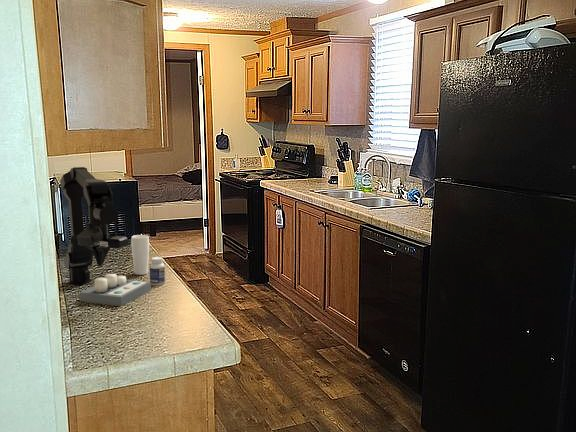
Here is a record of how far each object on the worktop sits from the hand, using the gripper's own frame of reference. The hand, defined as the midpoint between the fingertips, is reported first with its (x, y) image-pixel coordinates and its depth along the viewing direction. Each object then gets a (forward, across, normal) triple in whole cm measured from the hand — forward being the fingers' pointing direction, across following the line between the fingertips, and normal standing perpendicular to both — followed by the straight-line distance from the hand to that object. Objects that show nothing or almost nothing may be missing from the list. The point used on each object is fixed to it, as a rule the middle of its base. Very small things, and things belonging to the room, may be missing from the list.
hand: (100, 265), depth 180 cm
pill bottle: (+12, +8, +22) cm, 27 cm away
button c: (+11, 0, +11) cm, 15 cm away
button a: (+8, 0, 0) cm, 8 cm away
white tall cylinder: (+12, -5, +32) cm, 35 cm away
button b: (+8, 0, +5) cm, 10 cm away
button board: (+12, +2, +5) cm, 13 cm away
